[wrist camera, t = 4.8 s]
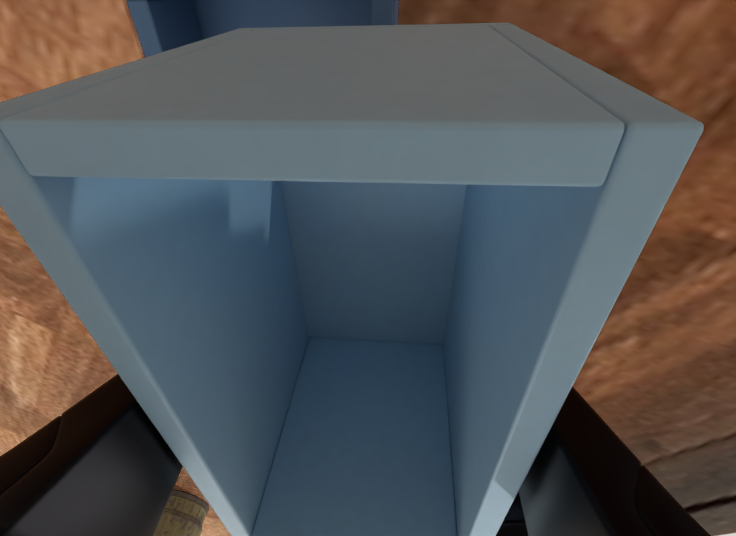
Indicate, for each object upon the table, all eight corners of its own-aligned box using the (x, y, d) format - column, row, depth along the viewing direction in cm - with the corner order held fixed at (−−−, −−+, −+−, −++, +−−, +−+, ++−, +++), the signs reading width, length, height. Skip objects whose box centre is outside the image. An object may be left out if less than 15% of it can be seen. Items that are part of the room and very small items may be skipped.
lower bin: (391, 257, 24) (387, 300, 21) (247, 250, 25) (222, 291, 22) (399, -35, 15) (395, -37, 12) (174, -30, 16) (114, -31, 13)
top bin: (455, 345, 17) (479, 570, 10) (300, 336, 17) (234, 542, 11) (511, 22, 9) (711, 124, 3) (238, 27, 10) (-64, 120, 4)
